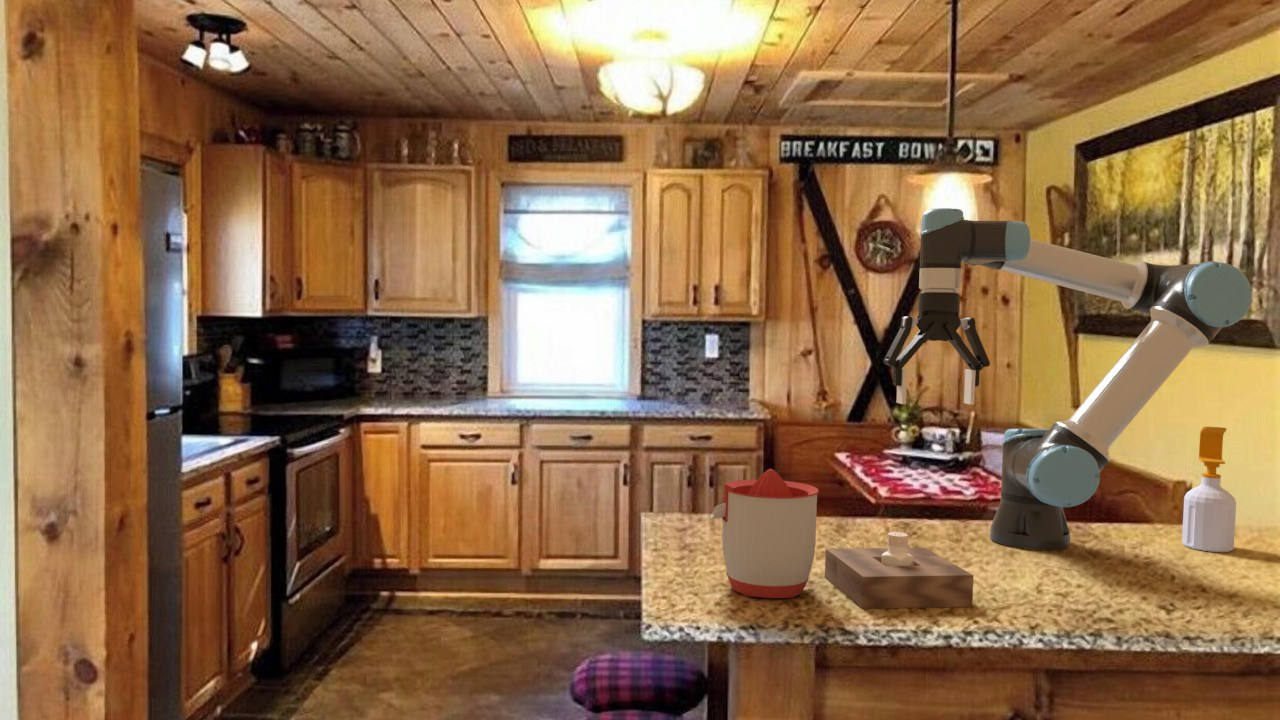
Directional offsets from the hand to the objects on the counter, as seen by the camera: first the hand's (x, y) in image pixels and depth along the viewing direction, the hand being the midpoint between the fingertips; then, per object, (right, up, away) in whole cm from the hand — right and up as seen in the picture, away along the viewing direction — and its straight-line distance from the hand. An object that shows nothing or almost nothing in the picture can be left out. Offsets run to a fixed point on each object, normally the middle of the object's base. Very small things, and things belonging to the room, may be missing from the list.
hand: (935, 403), depth 190 cm
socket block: (-14, -30, -25) cm, 42 cm away
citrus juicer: (-36, -29, -26) cm, 54 cm away
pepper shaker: (-14, -30, -25) cm, 42 cm away
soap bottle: (+58, -30, +12) cm, 67 cm away
